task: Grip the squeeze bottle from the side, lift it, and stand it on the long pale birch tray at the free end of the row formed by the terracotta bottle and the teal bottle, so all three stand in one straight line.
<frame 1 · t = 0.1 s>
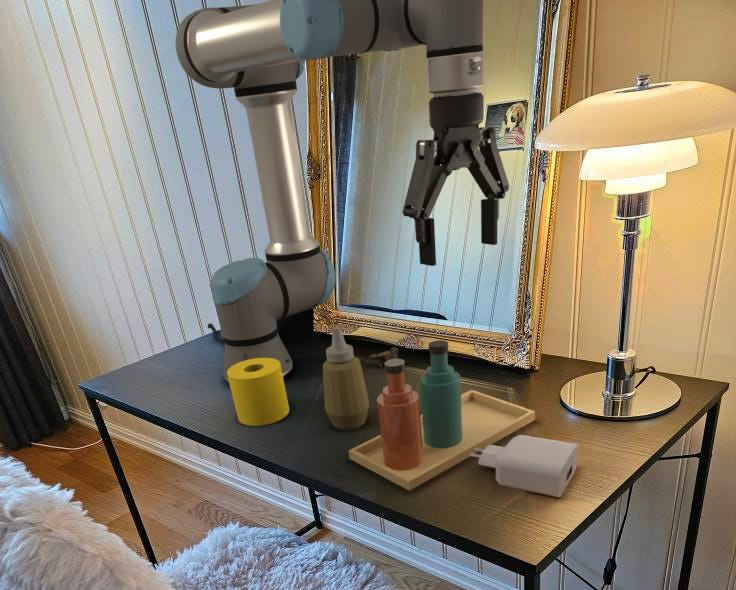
hand: (459, 254, 101), 28 cm above the table, tool pointing down, fingers open, 13 cm apart
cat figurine: (383, 366, 140), on the table
tray: (444, 441, 109), on the table
teal bottle: (443, 438, 109), point 1 cm above the table, touching tray
terracotta bottle: (403, 459, 104), point 1 cm above the table, touching tray
charger: (518, 475, 98), on the table
squeeze bottle: (349, 424, 119), on the table
yellow toilet paper roll: (264, 414, 126), on the table
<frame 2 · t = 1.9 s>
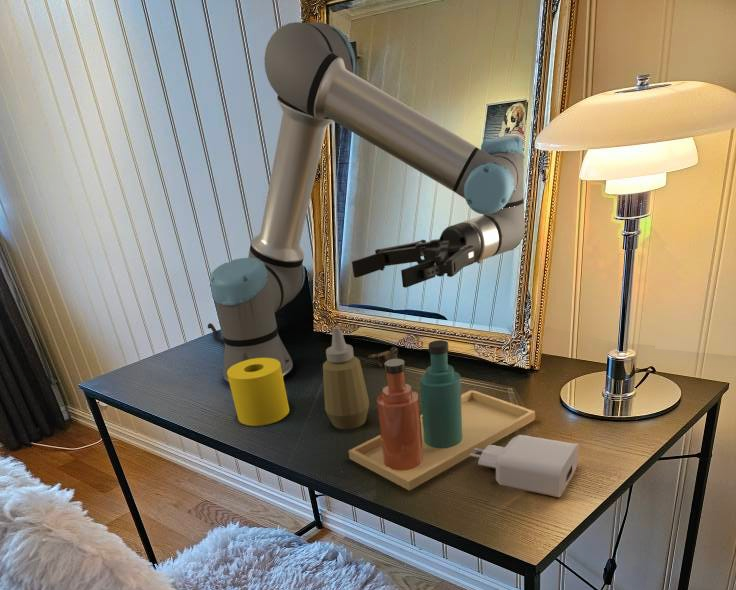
hand: (377, 274, 110), 24 cm above the table, tool horizontal, fingers open, 13 cm apart
nothing on the table moved.
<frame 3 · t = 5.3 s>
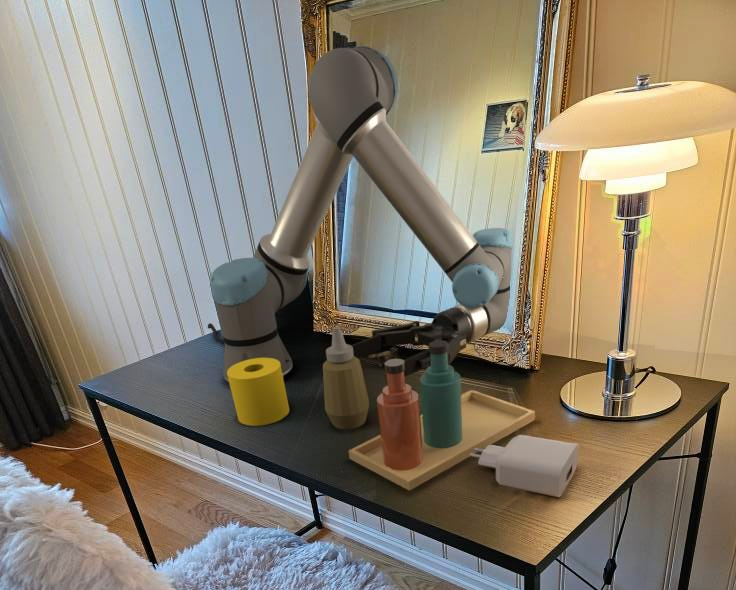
hand: (376, 360, 117), 10 cm above the table, tool horizontal, fingers open, 13 cm apart
nothing on the table moved.
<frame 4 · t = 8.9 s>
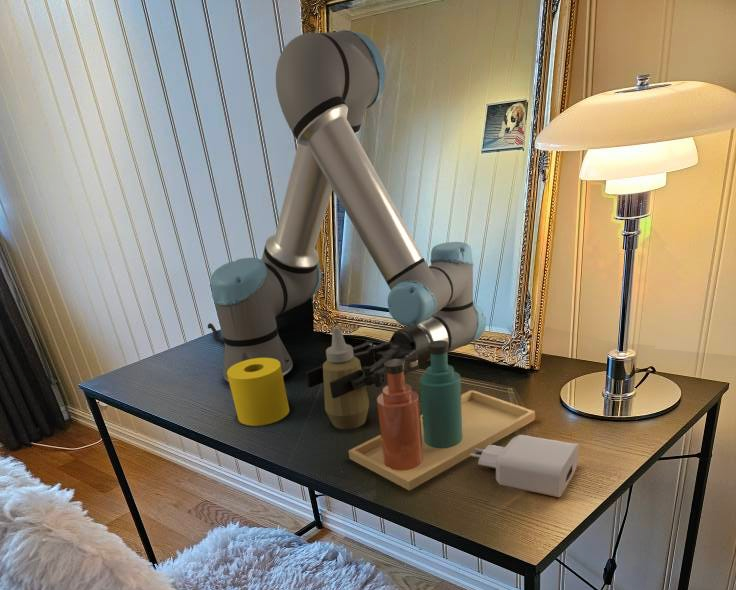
hand: (319, 385, 111), 9 cm above the table, tool horizontal, fingers closed on squeeze bottle, 6 cm apart
squeeze bottle: (349, 424, 119), on the table, touching gripper
everything else where it was.
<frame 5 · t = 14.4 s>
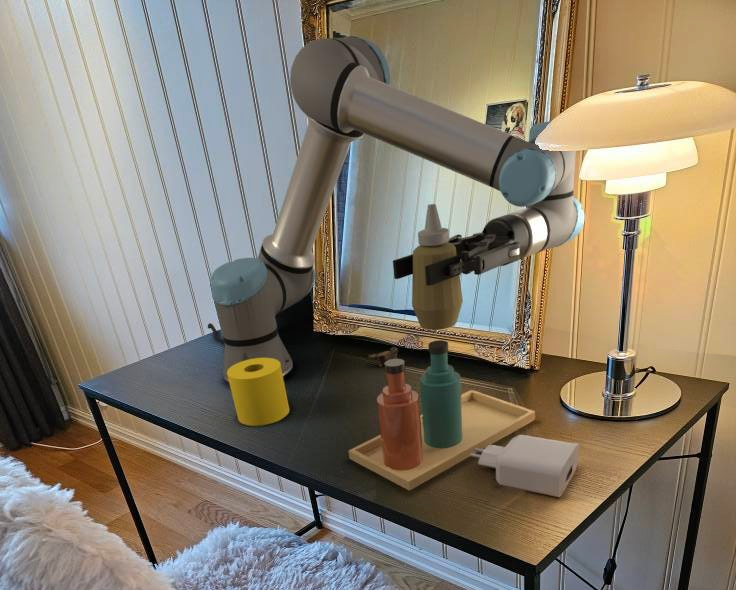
hand: (411, 272, 97), 27 cm above the table, tool horizontal, fingers closed on squeeze bottle, 6 cm apart
squeeze bottle: (438, 326, 105), point 18 cm above the table, touching gripper
everything else where it was.
when the fingers open (10 cm above the table, at t = 20.1 s): squeeze bottle stays where it is, resting on tray.
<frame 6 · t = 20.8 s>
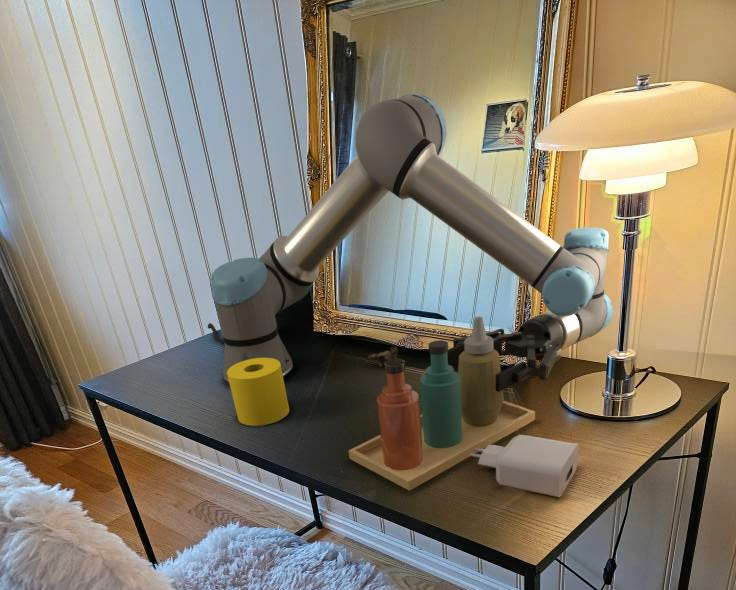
hand: (465, 373, 106), 10 cm above the table, tool horizontal, fingers open, 13 cm apart
squeeze bottle: (480, 420, 113), resting on tray
everything else where it was.
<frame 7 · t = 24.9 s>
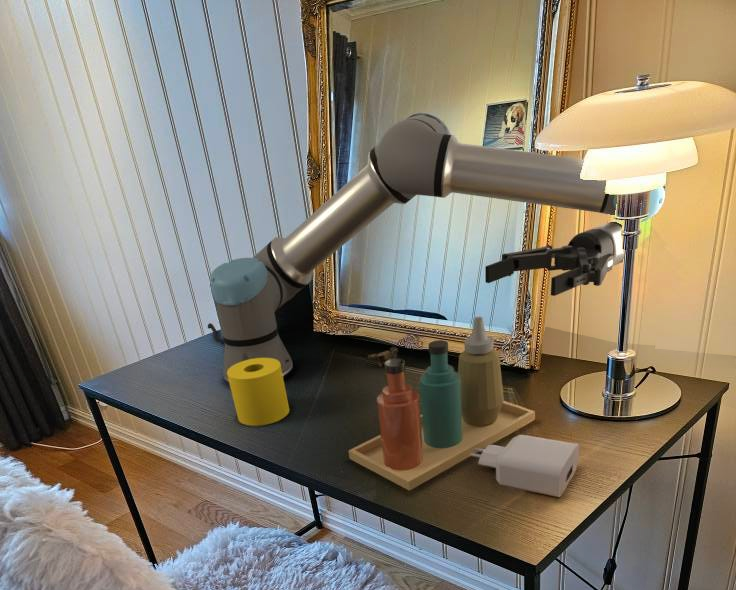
hand: (518, 280, 106), 22 cm above the table, tool horizontal, fingers open, 13 cm apart
nothing on the table moved.
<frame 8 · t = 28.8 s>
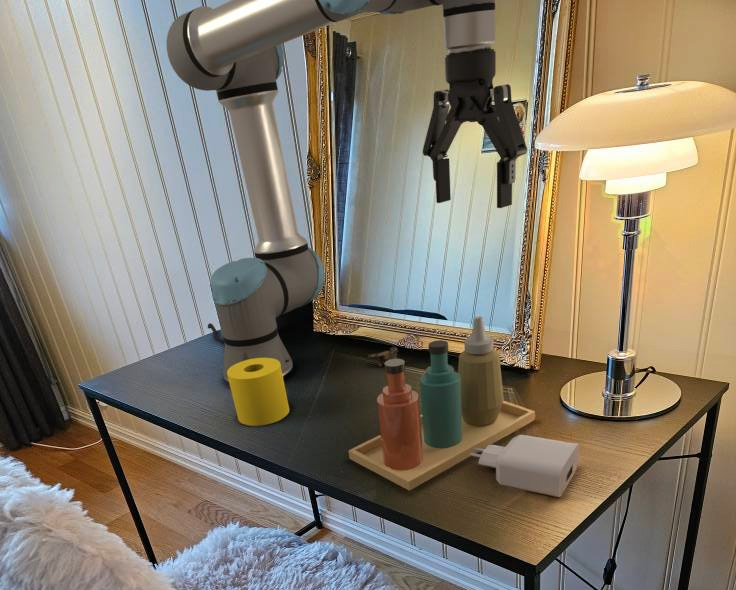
hand: (472, 204, 108), 33 cm above the table, tool pointing down, fingers open, 13 cm apart
nothing on the table moved.
at the end: squeeze bottle 0.0 cm from the target spot, resting on tray; squeeze bottle tilted 0°; teal bottle moved 0.0 cm from its start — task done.
